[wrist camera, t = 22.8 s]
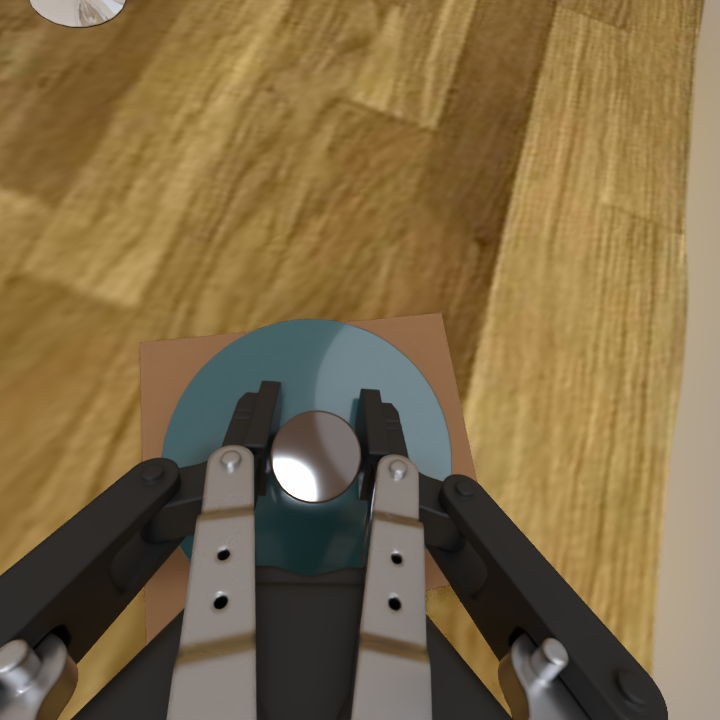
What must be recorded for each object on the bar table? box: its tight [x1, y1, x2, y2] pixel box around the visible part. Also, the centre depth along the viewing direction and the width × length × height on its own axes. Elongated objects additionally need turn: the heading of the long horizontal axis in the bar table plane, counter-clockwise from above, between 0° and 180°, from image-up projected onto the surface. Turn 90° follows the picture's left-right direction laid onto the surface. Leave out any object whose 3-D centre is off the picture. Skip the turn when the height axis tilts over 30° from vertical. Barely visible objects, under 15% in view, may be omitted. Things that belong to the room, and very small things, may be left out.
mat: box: [140, 313, 477, 645], centre depth 16 cm, size 14×12×1 cm
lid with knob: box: [161, 319, 452, 576], centre depth 13 cm, size 12×12×6 cm
